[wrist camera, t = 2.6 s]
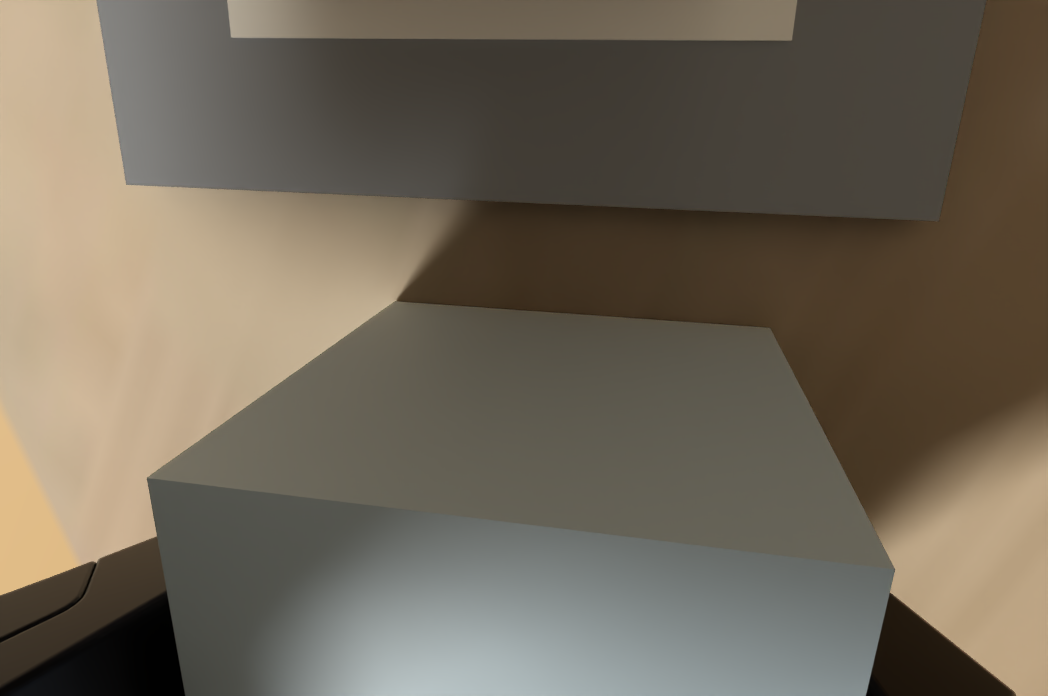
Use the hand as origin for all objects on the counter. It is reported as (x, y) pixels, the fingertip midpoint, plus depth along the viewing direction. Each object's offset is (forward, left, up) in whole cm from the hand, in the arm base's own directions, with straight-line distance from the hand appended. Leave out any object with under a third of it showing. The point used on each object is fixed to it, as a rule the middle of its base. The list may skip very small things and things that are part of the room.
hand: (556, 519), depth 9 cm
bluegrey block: (0, 0, -1) cm, 1 cm away
